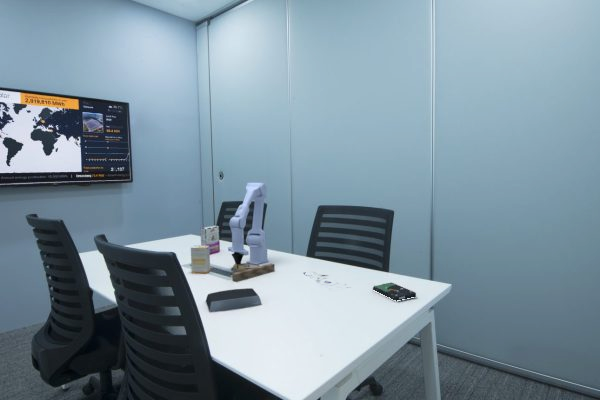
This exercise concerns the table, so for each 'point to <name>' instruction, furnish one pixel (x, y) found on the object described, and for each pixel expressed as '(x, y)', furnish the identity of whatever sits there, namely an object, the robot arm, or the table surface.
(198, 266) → the supplement box
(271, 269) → the walnut board
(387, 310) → the table surface
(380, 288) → the disk drive
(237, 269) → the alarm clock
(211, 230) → the candy bar box
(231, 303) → the external hard drive
